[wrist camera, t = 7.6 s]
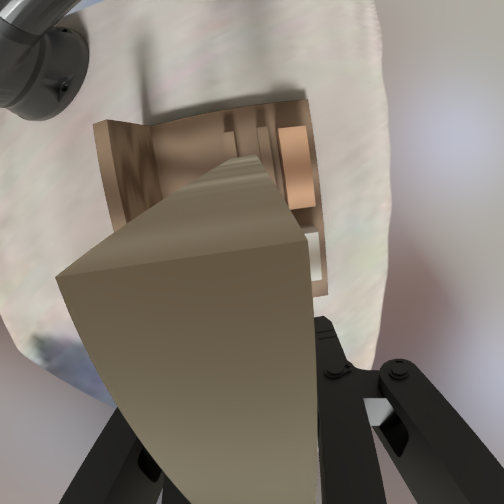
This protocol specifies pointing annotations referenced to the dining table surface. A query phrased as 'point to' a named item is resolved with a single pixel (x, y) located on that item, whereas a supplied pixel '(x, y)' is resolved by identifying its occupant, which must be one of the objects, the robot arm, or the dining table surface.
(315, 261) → the grey mdf offcut
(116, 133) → the walnut rack
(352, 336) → the dining table surface
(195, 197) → the birch sheet
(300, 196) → the cherry offcut
